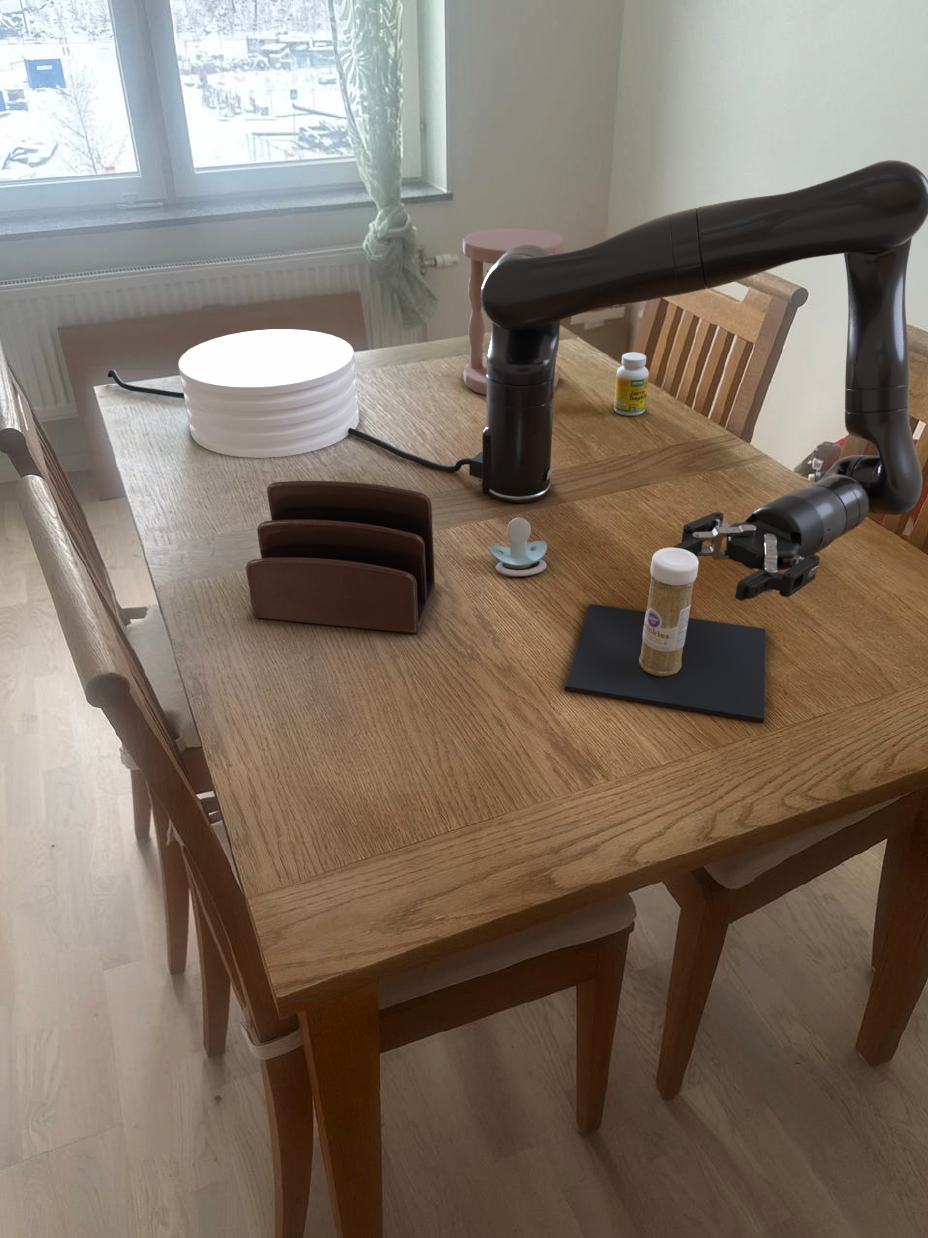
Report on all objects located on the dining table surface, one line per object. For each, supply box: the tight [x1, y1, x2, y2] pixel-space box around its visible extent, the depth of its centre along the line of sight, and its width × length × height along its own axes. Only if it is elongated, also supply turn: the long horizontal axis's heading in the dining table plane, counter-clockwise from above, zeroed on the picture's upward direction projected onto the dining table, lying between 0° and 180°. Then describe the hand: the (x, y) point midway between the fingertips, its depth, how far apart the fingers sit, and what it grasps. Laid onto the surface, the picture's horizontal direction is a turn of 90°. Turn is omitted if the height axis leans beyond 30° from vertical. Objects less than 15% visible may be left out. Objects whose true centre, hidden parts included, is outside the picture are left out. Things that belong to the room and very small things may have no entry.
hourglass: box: [462, 227, 567, 396], centre depth 163 cm, size 18×18×25 cm
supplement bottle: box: [613, 351, 650, 417], centre depth 156 cm, size 5×5×10 cm
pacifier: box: [488, 517, 548, 577], centre depth 115 cm, size 7×6×6 cm
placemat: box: [564, 603, 766, 724], centre depth 100 cm, size 20×16×1 cm
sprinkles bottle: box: [639, 547, 700, 676], centre depth 94 cm, size 5×5×14 cm
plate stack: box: [177, 328, 360, 459], centre depth 152 cm, size 28×28×12 cm
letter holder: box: [245, 480, 436, 635], centre depth 106 cm, size 10×20×14 cm, turn 80°
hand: (705, 575), depth 96 cm, fingers open, 8 cm apart
